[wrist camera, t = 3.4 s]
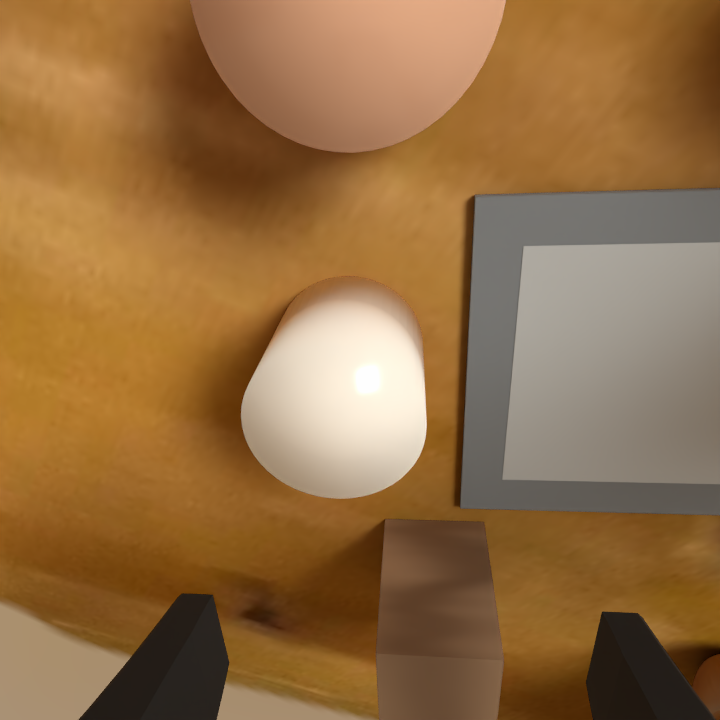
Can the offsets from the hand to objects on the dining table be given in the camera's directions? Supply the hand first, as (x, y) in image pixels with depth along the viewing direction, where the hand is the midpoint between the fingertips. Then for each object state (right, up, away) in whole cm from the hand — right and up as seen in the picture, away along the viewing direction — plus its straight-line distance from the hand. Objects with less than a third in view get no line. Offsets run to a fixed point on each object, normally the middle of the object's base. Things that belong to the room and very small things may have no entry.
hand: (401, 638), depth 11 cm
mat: (+9, +5, +8) cm, 13 cm away
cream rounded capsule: (-1, +6, +9) cm, 11 cm away
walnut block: (+2, -3, +13) cm, 14 cm away
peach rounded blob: (-1, +15, +4) cm, 15 cm away
